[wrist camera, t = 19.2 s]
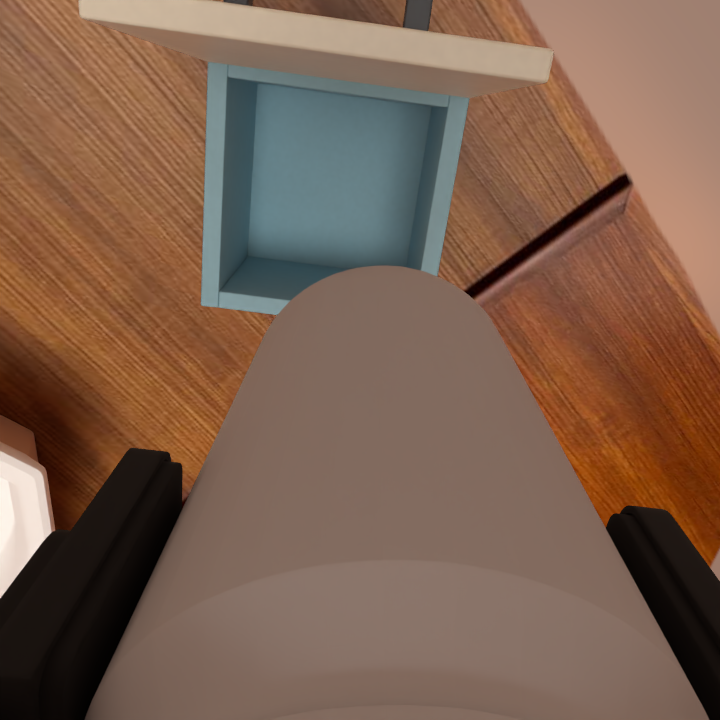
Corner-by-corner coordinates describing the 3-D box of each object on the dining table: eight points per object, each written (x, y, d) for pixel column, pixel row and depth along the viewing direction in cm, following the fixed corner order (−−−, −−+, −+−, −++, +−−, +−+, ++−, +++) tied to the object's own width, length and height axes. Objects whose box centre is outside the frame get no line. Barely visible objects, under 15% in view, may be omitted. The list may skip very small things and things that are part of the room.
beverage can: (553, 330, 15) (1017, 906, 4) (425, 515, 18) (513, 1210, 7) (326, 209, 14) (172, 558, 3) (220, 422, 17) (-86, 1060, 6)
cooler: (415, 287, 40) (426, 334, 32) (235, 264, 40) (200, 306, 32) (448, 92, 36) (471, 88, 27) (245, 64, 35) (207, 52, 27)
